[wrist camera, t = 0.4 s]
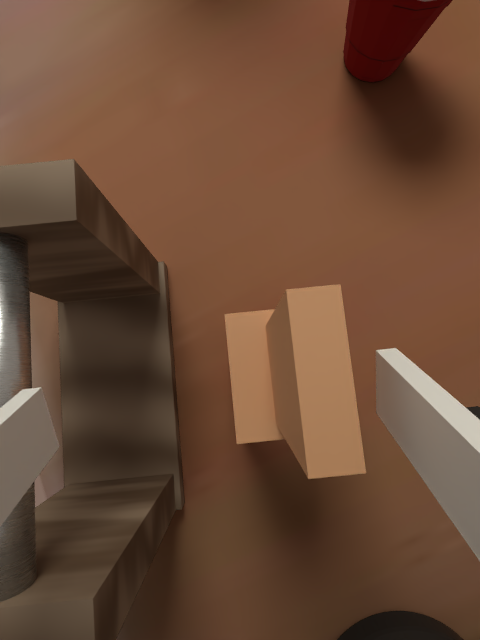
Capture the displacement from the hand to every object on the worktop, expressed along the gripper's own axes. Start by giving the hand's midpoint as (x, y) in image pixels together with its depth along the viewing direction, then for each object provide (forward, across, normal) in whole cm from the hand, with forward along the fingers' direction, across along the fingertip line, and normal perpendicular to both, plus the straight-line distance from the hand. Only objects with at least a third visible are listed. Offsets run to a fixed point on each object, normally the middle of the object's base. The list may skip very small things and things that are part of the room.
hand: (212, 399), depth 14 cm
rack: (+18, +11, +7) cm, 22 cm away
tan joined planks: (+18, -3, +8) cm, 20 cm away
